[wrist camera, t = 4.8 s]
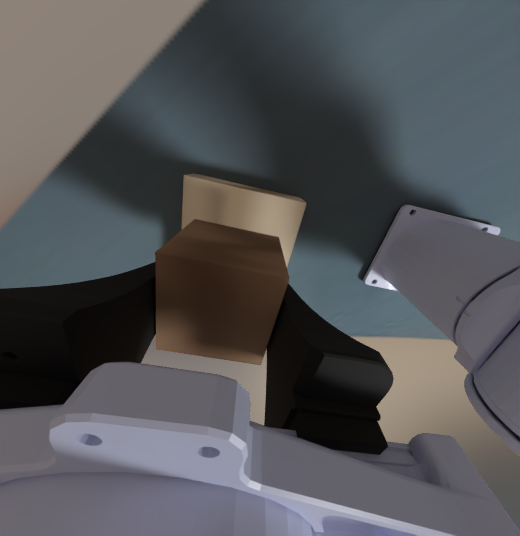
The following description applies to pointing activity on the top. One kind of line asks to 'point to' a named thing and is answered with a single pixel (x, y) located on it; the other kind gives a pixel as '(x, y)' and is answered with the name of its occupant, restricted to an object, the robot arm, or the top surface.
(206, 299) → the walnut cube
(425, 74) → the top surface
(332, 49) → the top surface
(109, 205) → the top surface
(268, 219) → the maple block
